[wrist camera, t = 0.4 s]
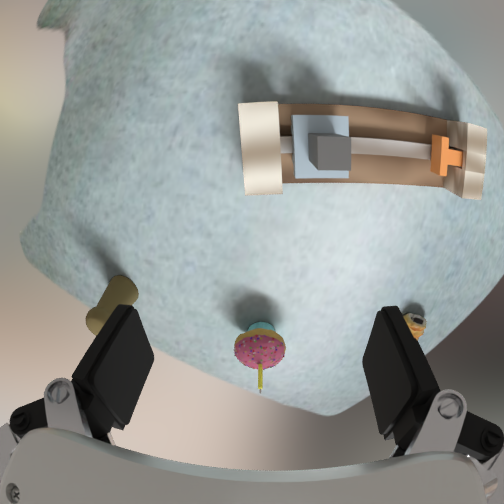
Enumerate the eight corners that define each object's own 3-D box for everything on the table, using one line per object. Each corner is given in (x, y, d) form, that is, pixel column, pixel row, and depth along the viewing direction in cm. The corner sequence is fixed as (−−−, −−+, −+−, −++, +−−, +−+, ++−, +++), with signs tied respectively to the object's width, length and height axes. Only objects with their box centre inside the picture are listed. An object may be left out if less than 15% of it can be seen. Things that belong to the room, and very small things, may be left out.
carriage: (290, 115, 29) (298, 113, 20) (339, 116, 28) (366, 116, 20) (292, 171, 32) (301, 192, 23) (340, 171, 31) (365, 192, 23)
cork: (108, 271, 43) (77, 309, 33) (138, 280, 44) (110, 322, 34) (111, 297, 46) (83, 336, 36) (138, 306, 46) (114, 348, 37)
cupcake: (288, 343, 48) (291, 397, 37) (244, 349, 49) (238, 402, 39) (279, 309, 44) (280, 365, 34) (230, 317, 46) (219, 372, 35)
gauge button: (432, 134, 26) (441, 136, 24) (464, 141, 26) (475, 143, 24) (430, 171, 28) (439, 175, 26) (462, 175, 28) (472, 179, 26)
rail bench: (243, 106, 30) (237, 103, 24) (460, 123, 27) (487, 128, 22) (249, 182, 35) (245, 195, 29) (456, 186, 32) (480, 199, 26)
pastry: (401, 348, 48) (406, 361, 45) (377, 344, 48) (381, 357, 44) (426, 314, 44) (433, 327, 40) (402, 308, 43) (409, 322, 40)
